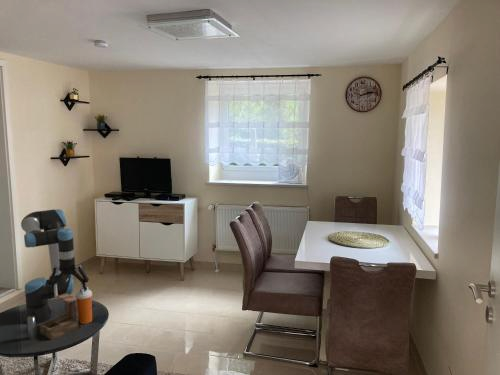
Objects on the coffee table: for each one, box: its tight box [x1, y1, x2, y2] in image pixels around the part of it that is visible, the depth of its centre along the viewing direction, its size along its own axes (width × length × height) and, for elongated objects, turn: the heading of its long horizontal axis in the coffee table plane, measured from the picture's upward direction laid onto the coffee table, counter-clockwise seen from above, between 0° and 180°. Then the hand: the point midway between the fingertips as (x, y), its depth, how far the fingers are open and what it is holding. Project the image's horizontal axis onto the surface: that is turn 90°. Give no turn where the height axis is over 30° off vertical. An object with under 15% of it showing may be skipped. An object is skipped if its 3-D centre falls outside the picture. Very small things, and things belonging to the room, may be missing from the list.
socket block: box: [39, 293, 80, 341], centre depth 228 cm, size 12×16×18 cm
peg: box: [26, 315, 38, 341], centre depth 221 cm, size 4×4×12 cm
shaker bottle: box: [75, 286, 93, 325], centre depth 239 cm, size 9×9×20 cm
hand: (69, 295), depth 221 cm, fingers open, 13 cm apart
